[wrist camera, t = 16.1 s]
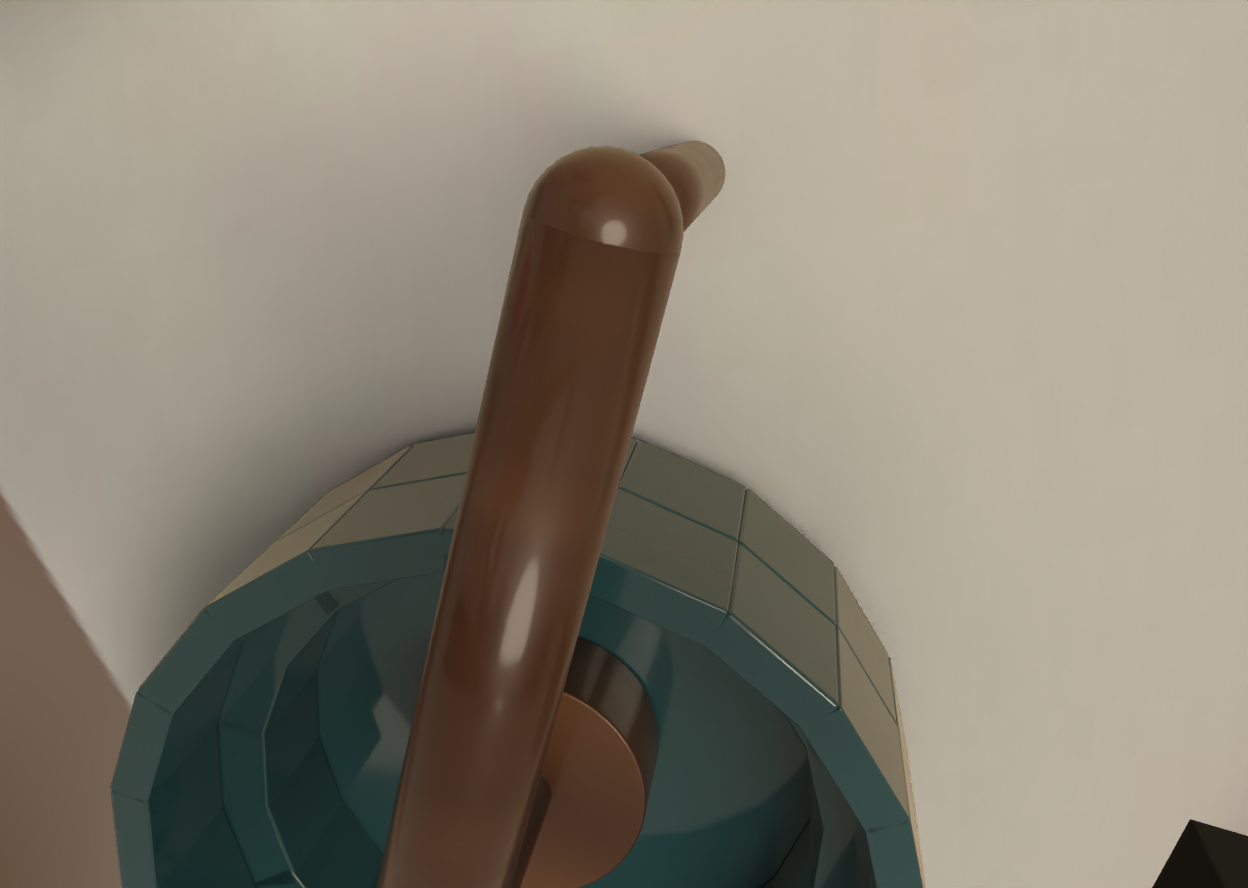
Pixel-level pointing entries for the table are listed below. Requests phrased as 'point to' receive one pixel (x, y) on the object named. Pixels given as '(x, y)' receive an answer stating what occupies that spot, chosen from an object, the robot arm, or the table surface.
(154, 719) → the mixing bowl
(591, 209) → the bent wooden rod
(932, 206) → the table surface
